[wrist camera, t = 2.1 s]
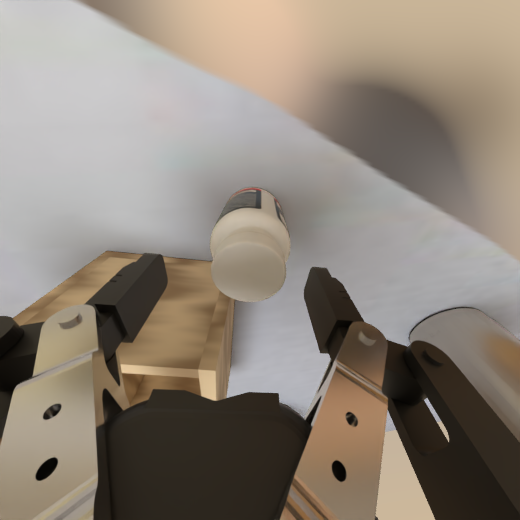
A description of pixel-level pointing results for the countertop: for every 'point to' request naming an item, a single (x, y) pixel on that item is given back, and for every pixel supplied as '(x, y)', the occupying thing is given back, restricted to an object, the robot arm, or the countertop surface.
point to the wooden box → (160, 327)
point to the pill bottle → (250, 246)
